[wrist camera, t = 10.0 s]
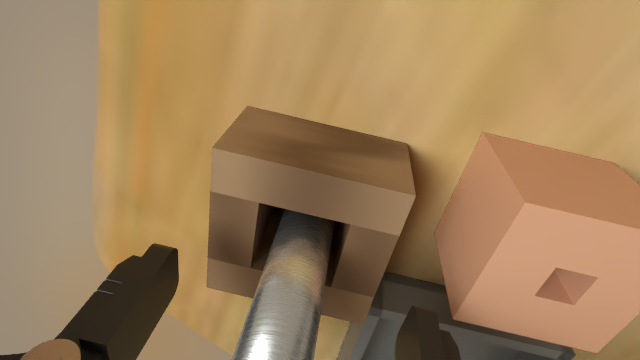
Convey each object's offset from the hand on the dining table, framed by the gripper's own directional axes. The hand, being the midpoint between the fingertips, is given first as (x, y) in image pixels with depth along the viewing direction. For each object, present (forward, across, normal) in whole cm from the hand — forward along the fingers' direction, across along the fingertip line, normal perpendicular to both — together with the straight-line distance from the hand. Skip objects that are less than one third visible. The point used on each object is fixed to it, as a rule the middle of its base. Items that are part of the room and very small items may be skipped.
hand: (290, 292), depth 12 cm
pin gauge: (+6, 0, 0) cm, 6 cm away
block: (+6, -9, -2) cm, 11 cm away
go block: (+6, 0, 0) cm, 6 cm away
